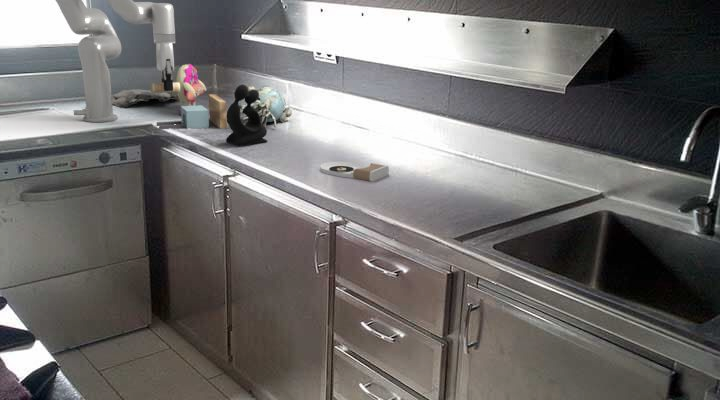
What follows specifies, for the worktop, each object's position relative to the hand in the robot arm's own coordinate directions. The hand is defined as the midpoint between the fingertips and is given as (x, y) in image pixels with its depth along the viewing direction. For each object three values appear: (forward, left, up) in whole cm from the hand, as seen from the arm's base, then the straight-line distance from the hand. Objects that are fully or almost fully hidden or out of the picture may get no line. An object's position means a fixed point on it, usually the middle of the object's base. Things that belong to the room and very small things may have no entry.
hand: (167, 89), depth 255 cm
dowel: (-1, +1, -1) cm, 2 cm away
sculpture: (+35, -6, -14) cm, 39 cm away
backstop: (+18, 0, -14) cm, 23 cm away
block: (+9, 0, -14) cm, 17 cm away
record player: (+39, -80, -15) cm, 90 cm away
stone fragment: (0, +53, -15) cm, 55 cm away
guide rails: (0, 0, -14) cm, 14 cm away
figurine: (+20, -34, -14) cm, 42 cm away
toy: (+13, +25, -14) cm, 32 cm away
